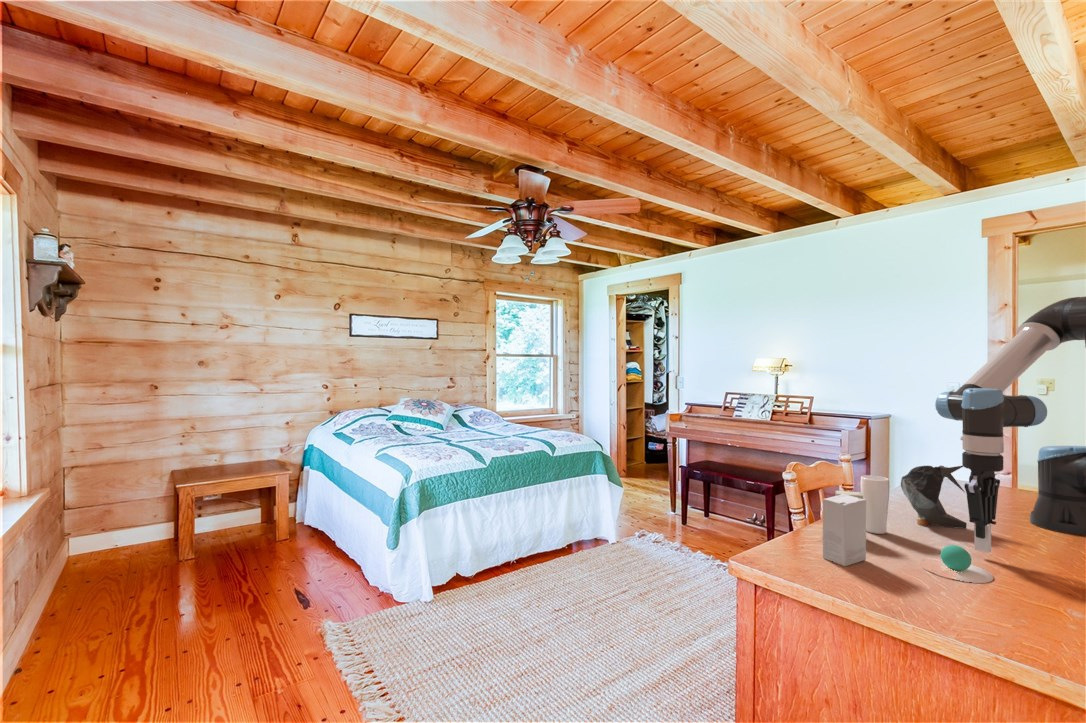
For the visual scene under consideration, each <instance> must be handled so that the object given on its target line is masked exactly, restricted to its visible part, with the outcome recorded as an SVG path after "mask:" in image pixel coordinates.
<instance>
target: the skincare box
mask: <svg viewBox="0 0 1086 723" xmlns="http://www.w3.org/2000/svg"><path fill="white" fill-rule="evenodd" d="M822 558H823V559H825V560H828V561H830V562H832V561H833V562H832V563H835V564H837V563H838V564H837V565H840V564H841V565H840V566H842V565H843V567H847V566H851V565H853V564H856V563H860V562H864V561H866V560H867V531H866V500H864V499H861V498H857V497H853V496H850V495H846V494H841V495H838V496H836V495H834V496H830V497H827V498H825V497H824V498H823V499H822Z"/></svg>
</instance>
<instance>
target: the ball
mask: <svg viewBox="0 0 1086 723" xmlns="http://www.w3.org/2000/svg"><path fill="white" fill-rule="evenodd" d="M940 559H941V560H942V562H943V563H944V564H945V565H946V566H947V567H948V568H950V569H952V570H956V571H963V570H966V569H968V568H969V567H970V565H972V557H971V554H970V553H969V552H968V550H966V549H965V548H964V547H962V546H960V545H956V544H950V545H946V546H945V547H943V548H942V549H941V551H940Z"/></svg>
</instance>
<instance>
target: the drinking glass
mask: <svg viewBox="0 0 1086 723" xmlns="http://www.w3.org/2000/svg"><path fill="white" fill-rule="evenodd" d="M860 492H861V494H862V495H863V499H864V500H866V533H871V534H874V535H884V534H886V533H887V531H888V530H887V528H888V527H887V525H888V515H889V514H888V511H889V502H890V479H889V478H887V477H885V476H880V475H871V474H870V475H869V474H865V475H861V476H860Z"/></svg>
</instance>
